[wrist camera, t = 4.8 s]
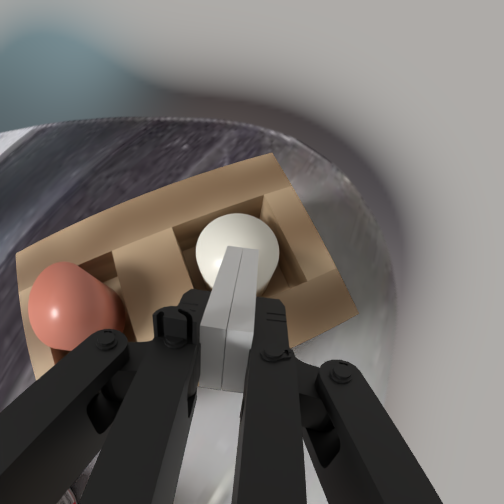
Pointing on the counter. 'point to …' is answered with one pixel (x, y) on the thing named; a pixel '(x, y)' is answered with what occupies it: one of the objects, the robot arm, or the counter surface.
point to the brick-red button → (72, 306)
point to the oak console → (192, 252)
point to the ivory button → (238, 235)
